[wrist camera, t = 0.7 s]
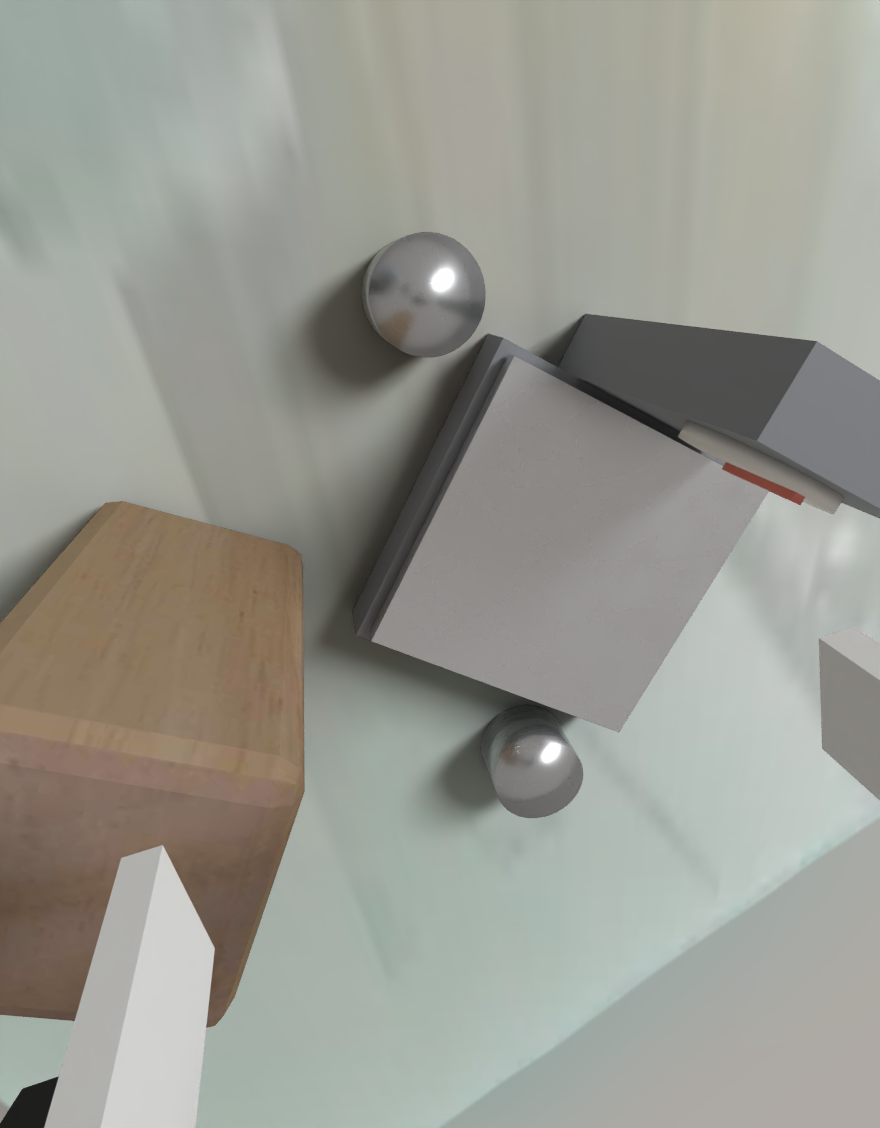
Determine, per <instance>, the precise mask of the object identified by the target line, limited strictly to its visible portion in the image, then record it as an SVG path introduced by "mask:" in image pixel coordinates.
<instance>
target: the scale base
mask: <svg viewBox="0 0 880 1128" xmlns="http://www.w3.org/2000/svg"><path fill="white" fill-rule="evenodd" d="M508 354H511V355H513V356H516V357H518V358H520V359H521V360H523V361H525V362H527V363H529V364H531V365H533V366H535V367H537V368H538V369H540V370H542V371H544V372H546V373H548V374H550V375H552V376H554V377H555V378H557V379H559V380H561V381H563V382H565V383H567V384H569V385H571V386H572V387H574V388H576V389H578V390H580V391H582V392H584V393H586V394H588V395H589V396H591V397H593V398H595V399H597V400H599V401H601V402H603V403H605V404H606V405H608V406H610V407H612V408H614V409H616V410H618V411H620V412H622V413H623V414H625V415H627V416H629V417H631V418H633V419H635V420H637V421H639V422H640V423H642V424H644V425H646V426H648V427H650V428H652V429H654V430H656V431H657V432H659V433H661V434H663V435H665V436H667V437H669V438H671V439H673V440H674V441H676V442H678V443H680V444H682V445H684V446H686V447H688V448H690V449H691V450H693V451H695V452H697V453H699V454H701V455H703V456H705V457H707V458H708V459H710V460H712V461H714V462H716V463H718V464H720V465H722V466H723V468H722V470H724V471H726V472H728V473H730V474H732V475H734V476H737V477H739V478H741V479H743V480H746V481H748V482H750V483H752V484H754V485H757V486H759V487H761V488H763V489H766V490H768V491H770V492H772V493H774V494H777V495H779V496H781V497H783V498H785V499H788V500H790V501H792V502H794V503H797V504H799V505H801V503H802V502H805V503H807V504H809V505H811V506H814V507H816V508H818V509H821V510H823V511H825V512H828V513H831V514H834V513H835V511H836V510H837V508H838V507H839V505H840V504H841V503H844V504H846V505H849V506H851V507H854V508H856V509H858V510H861V511H863V512H866V513H868V514H871V515H873V516H875V517H878V518H880V381H879V380H878V379H876V378H875V377H873V376H871V375H870V374H868V373H867V372H865V371H863V370H862V369H860V368H859V367H857V366H855V365H854V364H852V363H851V362H849V361H847V360H846V359H844V358H843V357H841V356H839V355H838V354H836V353H835V352H833V351H832V350H830V349H828V348H827V347H825V346H824V345H822V344H820V343H819V342H817V341H809V340H801V339H792V338H784V337H776V336H767V335H759V334H750V333H742V332H734V331H725V330H717V329H708V328H700V327H691V326H683V325H675V324H666V323H658V322H649V321H641V320H633V319H624V318H616V317H607V316H599V315H590V314H585V316H584V318H583V319H582V321H581V323H580V325H579V327H578V329H577V331H576V333H575V335H574V337H573V339H572V341H571V343H570V345H569V346H568V348H567V350H566V352H565V354H564V356H563V358H562V360H561V362H560V364H559V366H558V367H556V366H555V365H553V364H551V363H549V362H547V361H545V360H543V359H541V358H540V357H538V356H536V355H534V354H532V353H530V352H528V351H527V350H525V349H523V348H521V347H519V346H517V345H515V344H513V343H512V342H510V341H508V340H506V339H504V338H501V337H498V336H494V335H491V334H488V335H487V337H486V339H485V341H484V343H483V345H482V347H481V349H480V351H479V353H478V355H477V357H476V359H475V361H474V363H473V365H472V367H471V369H470V371H469V374H468V376H467V378H466V380H465V382H464V384H463V386H462V388H461V390H460V392H459V394H458V396H457V398H456V400H455V402H454V404H453V406H452V408H451V410H450V412H449V414H448V416H447V419H446V421H445V423H444V425H443V427H442V429H441V431H440V433H439V435H438V437H437V439H436V441H435V443H434V445H433V447H432V449H431V451H430V453H429V455H428V457H427V459H426V462H425V464H424V466H423V468H422V470H421V472H420V474H419V476H418V478H417V480H416V482H415V484H414V486H413V488H412V490H411V492H410V494H409V496H408V498H407V500H406V502H405V505H404V507H403V509H402V511H401V513H400V515H399V517H398V519H397V521H396V523H395V525H394V527H393V529H392V531H391V533H390V535H389V537H388V539H387V541H386V543H385V545H384V547H383V550H382V552H381V554H380V556H379V558H378V560H377V562H376V564H375V566H374V568H373V570H372V572H371V574H370V576H369V578H368V580H367V582H366V584H365V586H364V588H363V590H362V593H361V595H360V597H359V599H358V601H357V603H356V605H355V607H354V609H353V611H352V613H353V619H354V626H355V632H356V636H358V637H361V638H364V639H366V640H369V641H371V637H370V631H371V629H372V627H373V625H374V623H375V621H376V619H377V617H378V615H379V613H380V611H381V609H382V607H383V605H384V603H385V601H386V599H387V597H388V595H389V593H390V591H391V589H392V587H393V585H394V583H395V581H396V579H397V577H398V575H399V573H400V571H401V569H402V567H403V565H404V563H405V561H406V559H407V557H408V555H409V553H410V551H411V549H412V547H413V545H414V543H415V541H416V539H417V537H418V535H419V532H420V530H421V528H422V526H423V524H424V522H425V520H426V518H427V516H428V514H429V512H430V510H431V508H432V506H433V504H434V502H435V500H436V498H437V496H438V494H439V492H440V490H441V488H442V486H443V484H444V482H445V480H446V478H447V476H448V474H449V472H450V470H451V468H452V466H453V464H454V462H455V460H456V458H457V456H458V454H459V452H460V450H461V448H462V446H463V444H464V442H465V440H466V438H467V436H468V434H469V432H470V430H471V428H472V426H473V424H474V422H475V420H476V418H477V416H478V414H479V412H480V410H481V408H482V406H483V404H484V402H485V400H486V398H487V396H488V394H489V392H490V390H491V388H492V386H493V384H494V382H495V380H496V378H497V376H498V374H499V372H500V370H501V368H502V366H503V364H504V362H505V360H506V358H507V356H508ZM423 661H424V660H423ZM442 668H443V667H442ZM461 675H462V674H461ZM586 721H587V720H586ZM605 728H606V727H605Z"/></svg>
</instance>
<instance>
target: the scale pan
mask: <svg viewBox="0 0 880 1128" xmlns="http://www.w3.org/2000/svg"><path fill="white" fill-rule="evenodd" d="M722 468H723V466H722V465H720V464H718V463H716V462H714V461H712V460H710V459H708V458H707V457H705V456H703V455H701V454H699V453H697V452H695V451H693V450H691V449H690V448H688V447H686V446H684V445H682V444H680V443H678V442H676V441H674V440H673V439H671V438H669V437H667V436H665V435H663V434H661V433H659V432H657V431H656V430H654V429H652V428H650V427H648V426H646V425H644V424H642V423H640V422H639V421H637V420H635V419H633V418H631V417H629V416H627V415H625V414H623V413H622V412H620V411H618V410H616V409H614V408H612V407H610V406H608V405H606V404H605V403H603V402H601V401H599V400H597V399H595V398H593V397H591V396H589V395H588V394H586V393H584V392H582V391H580V390H578V389H576V388H574V387H572V386H571V385H569V384H567V383H565V382H563V381H561V380H559V379H557V378H555V377H554V376H552V375H550V374H548V373H546V372H544V371H542V370H540V369H538V368H537V367H535V366H533V365H531V364H529V363H527V362H525V361H523V360H521V359H520V358H518V357H516V356H513V355H511V354H508V356H507V358H506V360H505V362H504V364H503V366H502V368H501V370H500V372H499V374H498V376H497V378H496V380H495V382H494V384H493V386H492V388H491V390H490V392H489V394H488V396H487V398H486V400H485V402H484V404H483V406H482V408H481V410H480V412H479V414H478V416H477V418H476V420H475V422H474V424H473V426H472V428H471V430H470V432H469V434H468V436H467V438H466V440H465V442H464V444H463V446H462V448H461V450H460V452H459V454H458V456H457V458H456V460H455V462H454V464H453V466H452V468H451V470H450V472H449V474H448V476H447V478H446V480H445V482H444V484H443V486H442V488H441V490H440V492H439V494H438V496H437V498H436V500H435V502H434V504H433V506H432V508H431V510H430V512H429V514H428V516H427V518H426V520H425V522H424V524H423V526H422V528H421V530H420V532H419V535H418V537H417V539H416V541H415V543H414V545H413V547H412V549H411V551H410V553H409V555H408V557H407V559H406V561H405V563H404V565H403V567H402V569H401V571H400V573H399V575H398V577H397V579H396V581H395V583H394V585H393V587H392V589H391V591H390V593H389V595H388V597H387V599H386V601H385V603H384V605H383V607H382V609H381V611H380V613H379V615H378V617H377V619H376V621H375V623H374V625H373V627H372V629H371V631H370V637H371V641H372V642H375V643H377V644H380V645H383V646H385V647H388V648H391V649H394V650H396V651H399V652H402V653H404V654H407V655H410V656H413V657H415V658H418V659H421V660H424V661H426V662H429V663H432V664H434V665H437V666H440V667H443V668H445V669H448V670H451V671H453V672H456V673H459V674H462V675H464V676H467V677H470V678H472V679H475V680H478V681H481V682H483V683H486V684H489V685H491V686H494V687H497V688H500V689H502V690H505V691H508V692H510V693H513V694H516V695H519V696H521V697H524V698H527V699H529V700H532V701H535V702H538V703H540V704H543V705H546V706H548V707H551V708H554V709H557V710H559V711H562V712H565V713H567V714H570V715H573V716H576V717H578V718H581V719H584V720H587V721H589V722H592V723H595V724H597V725H600V726H603V727H606V728H608V729H611V730H614V731H616V732H620V730H621V728H622V727H623V725H624V724H625V722H626V720H627V719H628V717H629V715H630V714H631V712H632V711H633V709H634V707H635V706H636V704H637V703H638V701H639V699H640V698H641V696H642V695H643V693H644V691H645V690H646V688H647V686H648V685H649V683H650V682H651V680H652V678H653V677H654V675H655V674H656V672H657V670H658V669H659V667H660V666H661V664H662V662H663V661H664V659H665V658H666V656H667V654H668V653H669V651H670V649H671V648H672V646H673V645H674V643H675V641H676V640H677V638H678V637H679V635H680V633H681V632H682V630H683V629H684V627H685V625H686V624H687V622H688V620H689V619H690V617H691V616H692V614H693V612H694V611H695V609H696V608H697V606H698V604H699V603H700V601H701V600H702V598H703V596H704V595H705V593H706V591H707V590H708V588H709V587H710V585H711V583H712V582H713V580H714V579H715V577H716V575H717V574H718V572H719V571H720V569H721V567H722V566H723V564H724V562H725V561H726V559H727V558H728V556H729V554H730V553H731V551H732V550H733V548H734V546H735V545H736V543H737V542H738V540H739V538H740V537H741V535H742V533H743V532H744V530H745V529H746V527H747V525H748V524H749V522H750V521H751V519H752V517H753V516H754V514H755V513H756V511H757V509H758V508H759V506H760V504H761V503H762V501H763V500H764V498H765V496H766V495H767V493H768V492H769V491H768V490H766V489H763V488H761V487H759V486H757V485H754V484H752V483H750V482H748V481H746V480H743V479H741V478H739V477H737V476H734V475H732V474H730V473H728V472H726V471H724V470H722Z"/></svg>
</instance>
